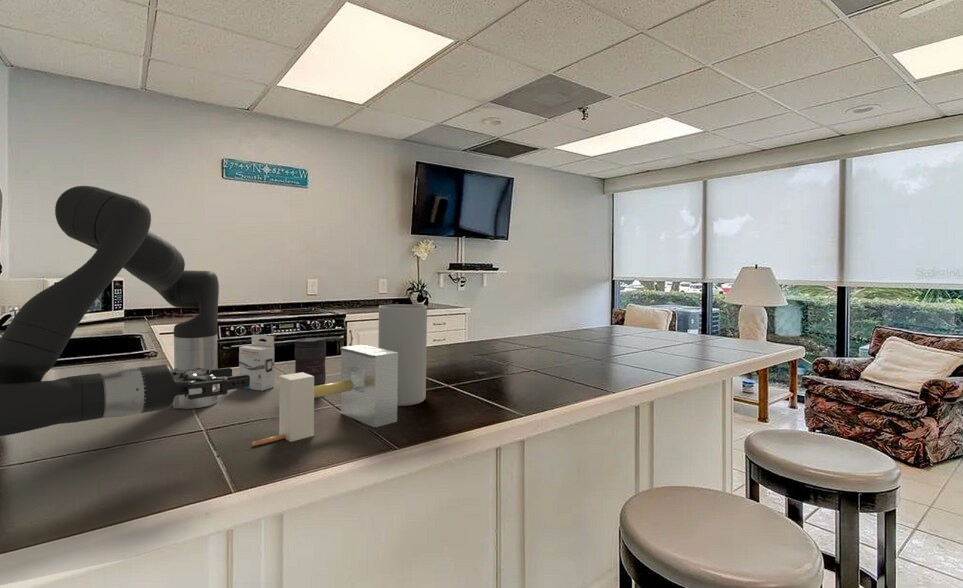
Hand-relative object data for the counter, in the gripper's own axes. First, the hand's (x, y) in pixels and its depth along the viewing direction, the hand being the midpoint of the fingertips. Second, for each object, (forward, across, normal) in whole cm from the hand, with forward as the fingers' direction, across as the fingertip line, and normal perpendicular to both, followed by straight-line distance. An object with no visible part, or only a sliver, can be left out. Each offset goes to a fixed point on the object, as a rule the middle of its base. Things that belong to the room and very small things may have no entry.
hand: (239, 376), depth 90 cm
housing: (+29, 0, +14) cm, 32 cm away
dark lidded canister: (+29, +29, +14) cm, 43 cm away
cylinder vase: (+44, +7, +14) cm, 46 cm away
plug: (+13, 0, +14) cm, 19 cm away
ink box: (+21, +45, +14) cm, 51 cm away
